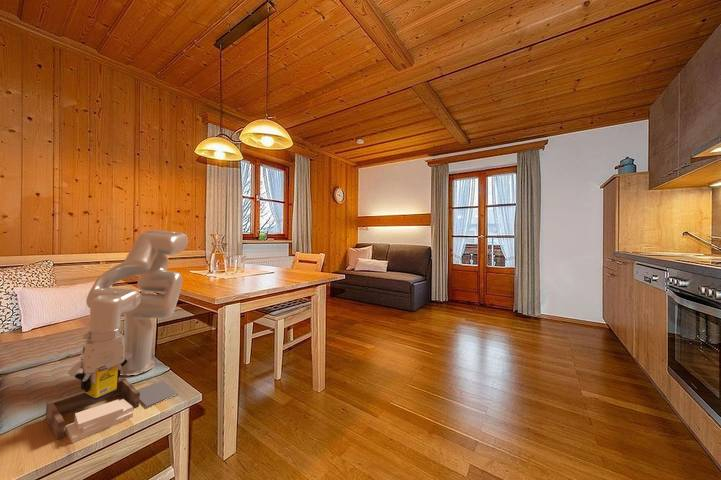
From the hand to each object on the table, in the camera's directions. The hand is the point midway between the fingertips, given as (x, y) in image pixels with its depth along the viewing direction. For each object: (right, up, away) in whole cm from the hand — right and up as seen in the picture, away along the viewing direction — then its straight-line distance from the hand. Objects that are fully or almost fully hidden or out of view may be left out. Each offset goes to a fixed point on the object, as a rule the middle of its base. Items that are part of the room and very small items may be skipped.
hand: (101, 384), depth 92 cm
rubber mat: (+10, -9, +10) cm, 17 cm away
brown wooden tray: (0, -8, -2) cm, 8 cm away
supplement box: (0, -3, 0) cm, 3 cm away
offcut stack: (+5, -9, -6) cm, 12 cm away
